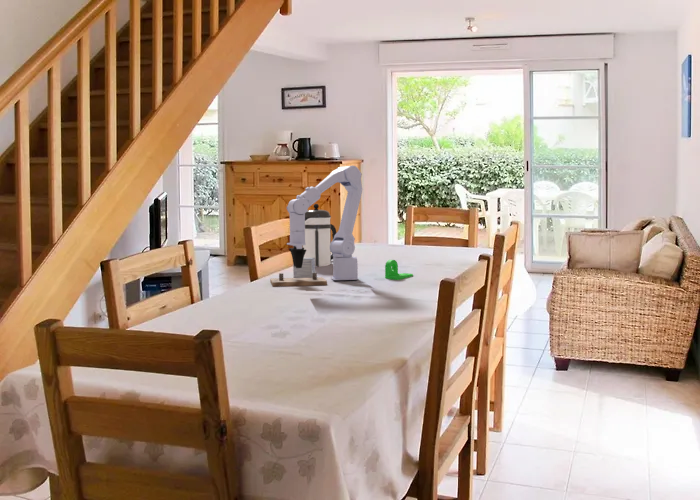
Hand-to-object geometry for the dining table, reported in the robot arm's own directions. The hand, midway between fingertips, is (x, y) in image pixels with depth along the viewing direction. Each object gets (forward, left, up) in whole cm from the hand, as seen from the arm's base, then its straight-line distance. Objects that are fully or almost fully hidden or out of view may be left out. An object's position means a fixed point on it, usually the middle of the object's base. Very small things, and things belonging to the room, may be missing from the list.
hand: (297, 267), depth 291 cm
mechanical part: (-41, -8, -7) cm, 43 cm away
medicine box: (-4, -16, -6) cm, 18 cm away
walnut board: (0, 0, -6) cm, 6 cm away
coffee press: (-13, -46, -6) cm, 49 cm away
